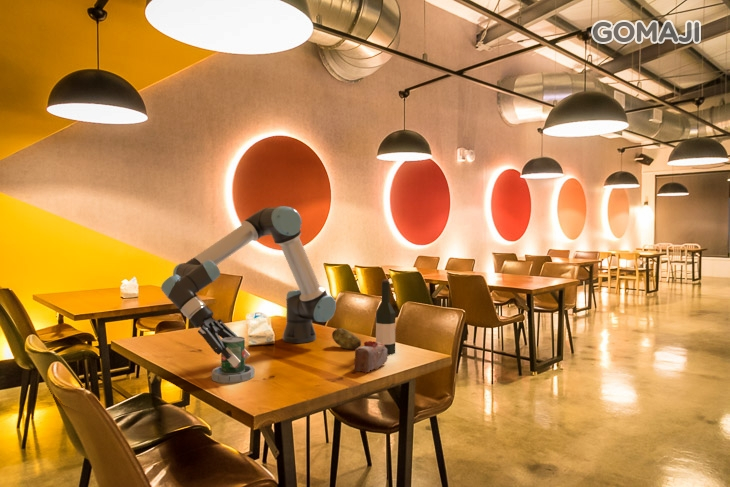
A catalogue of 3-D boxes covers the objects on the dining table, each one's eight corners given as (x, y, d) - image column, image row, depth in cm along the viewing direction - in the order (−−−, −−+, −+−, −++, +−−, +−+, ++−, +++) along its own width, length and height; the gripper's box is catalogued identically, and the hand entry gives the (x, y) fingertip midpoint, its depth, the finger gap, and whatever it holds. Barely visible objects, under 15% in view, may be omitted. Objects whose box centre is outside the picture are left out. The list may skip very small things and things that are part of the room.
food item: (370, 361, 178) (370, 336, 178) (389, 364, 174) (389, 338, 174) (352, 370, 166) (352, 343, 166) (371, 374, 162) (371, 346, 162)
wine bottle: (397, 350, 194) (398, 279, 193) (392, 355, 186) (392, 281, 186) (378, 349, 197) (379, 278, 196) (372, 353, 189) (372, 280, 188)
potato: (348, 352, 192) (348, 333, 191) (329, 346, 201) (329, 328, 201) (363, 348, 197) (363, 330, 197) (343, 343, 207) (343, 325, 206)
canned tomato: (249, 369, 160) (249, 338, 160) (232, 375, 153) (232, 342, 153) (234, 366, 164) (233, 335, 164) (216, 371, 158) (215, 339, 157)
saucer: (251, 368, 168) (251, 362, 168) (256, 380, 155) (256, 373, 155) (210, 373, 163) (210, 366, 163) (213, 385, 150) (212, 378, 150)
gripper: (204, 314, 171) (246, 360, 169) (174, 326, 150) (222, 377, 148) (218, 300, 170) (260, 346, 168) (189, 310, 149) (237, 361, 148)
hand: (242, 360), depth 158 cm, fingers closed on canned tomato, 8 cm apart
